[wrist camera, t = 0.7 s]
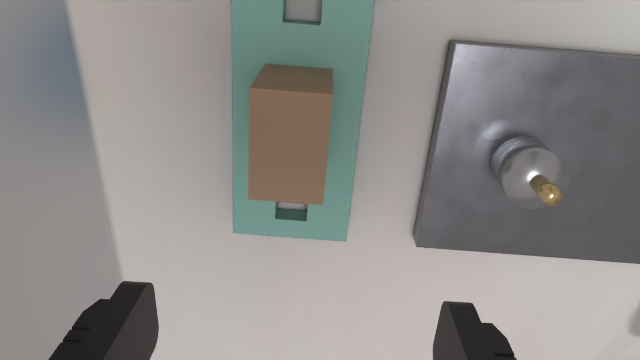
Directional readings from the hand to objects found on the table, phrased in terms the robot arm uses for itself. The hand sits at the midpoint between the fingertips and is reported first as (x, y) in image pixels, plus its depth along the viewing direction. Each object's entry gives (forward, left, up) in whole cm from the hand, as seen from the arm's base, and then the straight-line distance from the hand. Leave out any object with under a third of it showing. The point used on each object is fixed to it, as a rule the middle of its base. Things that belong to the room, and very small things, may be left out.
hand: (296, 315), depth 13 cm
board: (0, -1, -19) cm, 19 cm away
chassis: (+2, +20, -19) cm, 27 cm away
